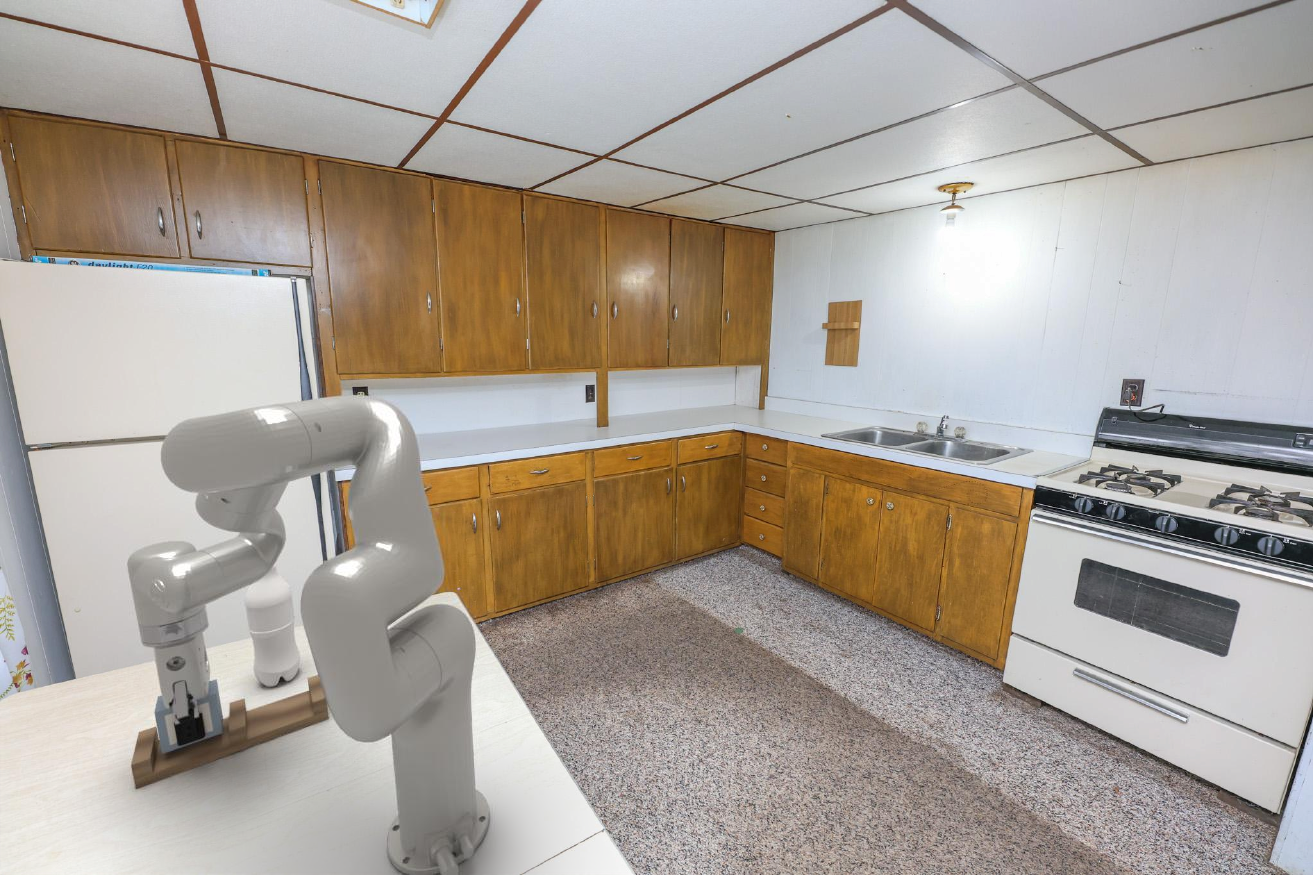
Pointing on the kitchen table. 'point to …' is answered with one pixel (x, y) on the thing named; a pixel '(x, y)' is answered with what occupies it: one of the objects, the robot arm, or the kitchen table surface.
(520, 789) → the kitchen table surface
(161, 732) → the blue-grey rectangular block
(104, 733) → the kitchen table surface
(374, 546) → the robot arm
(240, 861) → the kitchen table surface
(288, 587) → the water bottle
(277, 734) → the wooden divided rack
